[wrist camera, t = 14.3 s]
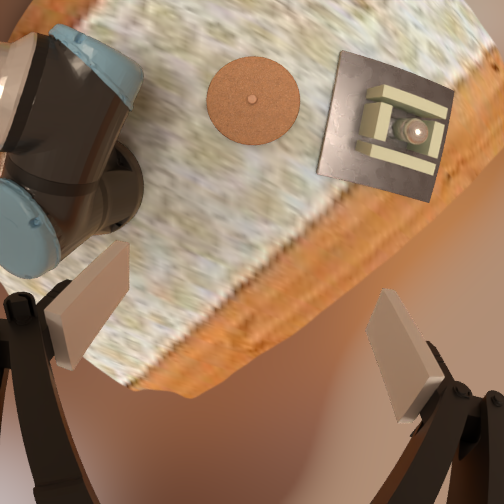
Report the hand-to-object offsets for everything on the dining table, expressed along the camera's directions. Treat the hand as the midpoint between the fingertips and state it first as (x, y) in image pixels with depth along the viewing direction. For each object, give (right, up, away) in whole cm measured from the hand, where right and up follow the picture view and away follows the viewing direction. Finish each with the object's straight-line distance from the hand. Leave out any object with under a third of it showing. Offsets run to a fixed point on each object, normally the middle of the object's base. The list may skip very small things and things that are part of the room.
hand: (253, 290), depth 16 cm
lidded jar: (0, +22, +25) cm, 34 cm away
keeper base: (+19, +20, +25) cm, 37 cm away
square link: (+19, +19, +24) cm, 36 cm away
